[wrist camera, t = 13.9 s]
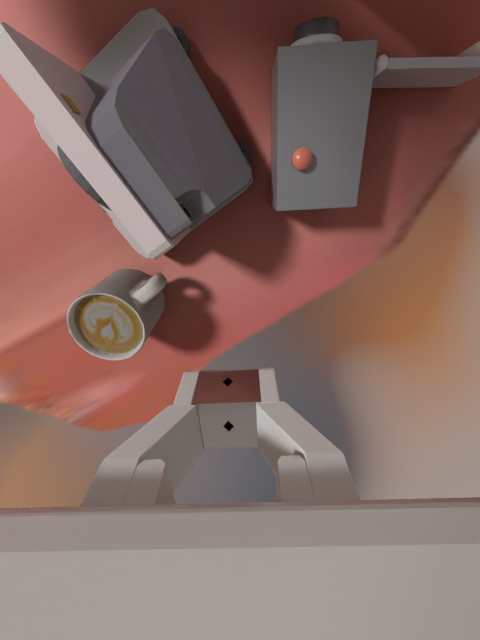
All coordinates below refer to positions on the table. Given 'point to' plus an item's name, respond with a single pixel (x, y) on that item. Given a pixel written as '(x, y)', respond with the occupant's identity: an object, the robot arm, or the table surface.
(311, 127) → the camera box
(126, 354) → the coffee mug
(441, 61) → the side door
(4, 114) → the table surface
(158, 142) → the instant camera
